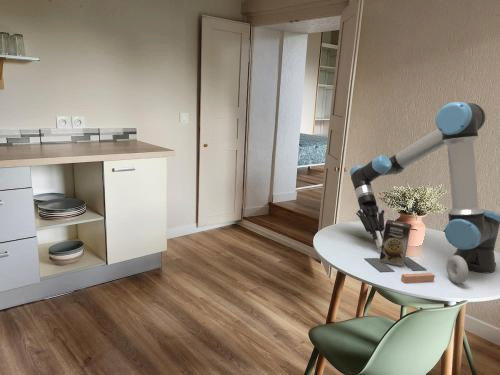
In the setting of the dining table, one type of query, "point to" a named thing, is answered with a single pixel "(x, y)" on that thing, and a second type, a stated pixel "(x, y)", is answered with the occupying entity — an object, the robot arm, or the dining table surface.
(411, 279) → the tan rectangular bar
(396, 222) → the coffee box
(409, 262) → the pads
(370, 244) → the dining table surface
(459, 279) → the donut
